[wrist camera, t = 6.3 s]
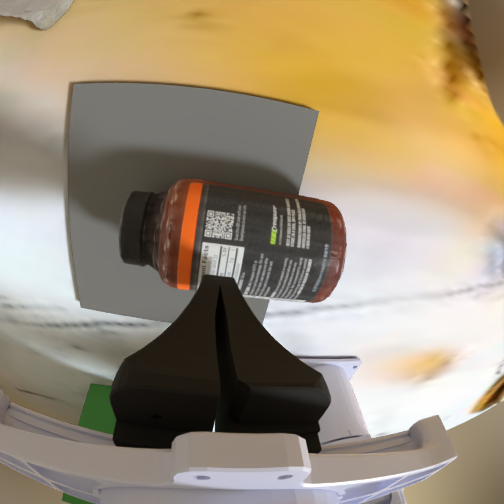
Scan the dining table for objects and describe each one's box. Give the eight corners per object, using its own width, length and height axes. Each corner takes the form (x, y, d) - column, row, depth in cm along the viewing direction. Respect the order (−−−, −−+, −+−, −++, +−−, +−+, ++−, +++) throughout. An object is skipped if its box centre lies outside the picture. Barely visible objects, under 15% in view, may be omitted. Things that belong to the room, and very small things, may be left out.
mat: (259, 327, 24) (259, 332, 24) (83, 302, 22) (80, 307, 21) (316, 110, 16) (318, 111, 16) (78, 84, 14) (73, 83, 13)
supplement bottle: (304, 247, 21) (144, 224, 19) (337, 182, 17) (141, 149, 15) (314, 322, 17) (121, 300, 15) (362, 263, 13) (102, 226, 11)
